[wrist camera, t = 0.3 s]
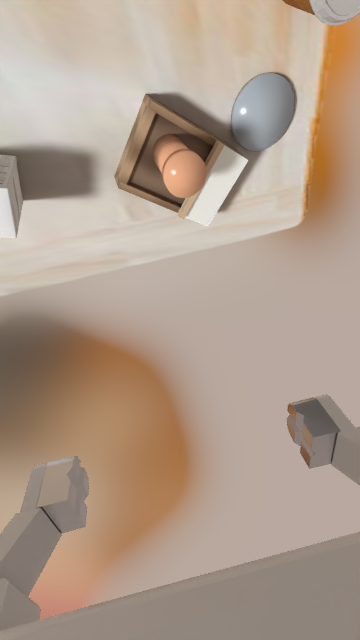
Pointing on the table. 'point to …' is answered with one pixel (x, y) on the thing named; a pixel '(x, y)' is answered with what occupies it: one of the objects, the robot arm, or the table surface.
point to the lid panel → (214, 184)
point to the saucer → (262, 111)
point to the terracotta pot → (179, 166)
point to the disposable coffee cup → (329, 9)
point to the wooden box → (137, 158)
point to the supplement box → (9, 197)
